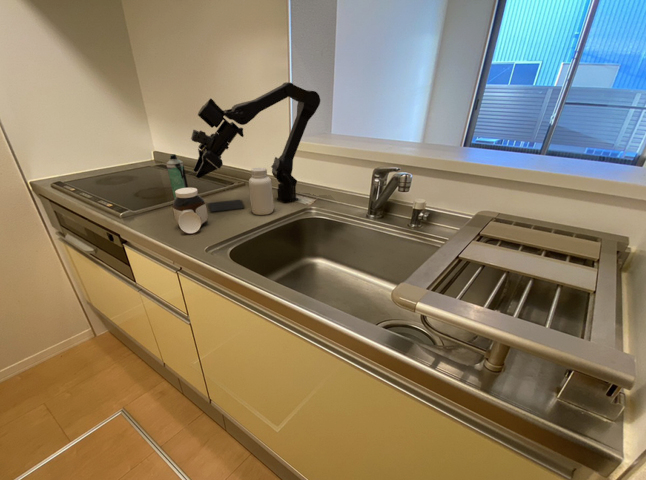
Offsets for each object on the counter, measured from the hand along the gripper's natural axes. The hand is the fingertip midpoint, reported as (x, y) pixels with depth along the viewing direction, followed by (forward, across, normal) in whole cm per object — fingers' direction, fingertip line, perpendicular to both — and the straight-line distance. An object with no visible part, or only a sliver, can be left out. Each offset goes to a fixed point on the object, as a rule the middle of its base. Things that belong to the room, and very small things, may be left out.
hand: (195, 174), depth 120 cm
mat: (+3, -1, +16) cm, 16 cm away
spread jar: (+13, +16, +6) cm, 21 cm away
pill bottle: (-5, +10, +24) cm, 26 cm away
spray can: (+14, 0, +5) cm, 15 cm away
